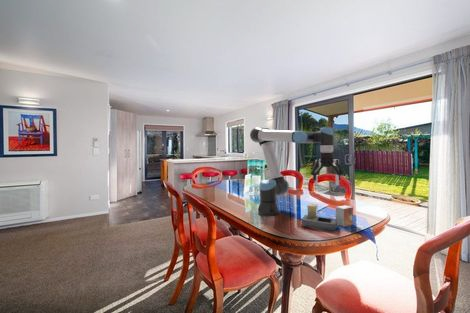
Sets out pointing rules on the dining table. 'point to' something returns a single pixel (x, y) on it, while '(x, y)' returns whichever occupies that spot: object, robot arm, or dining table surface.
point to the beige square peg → (312, 210)
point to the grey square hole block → (319, 223)
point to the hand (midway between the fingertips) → (326, 185)
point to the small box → (344, 215)
